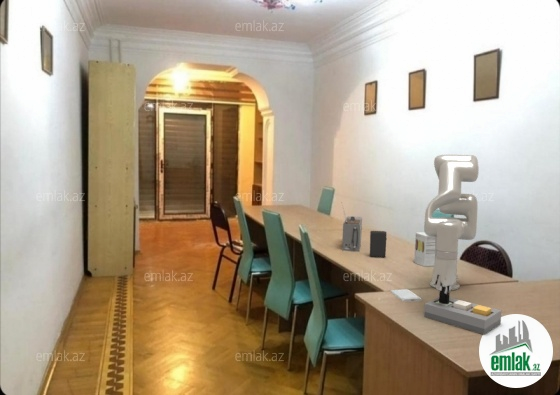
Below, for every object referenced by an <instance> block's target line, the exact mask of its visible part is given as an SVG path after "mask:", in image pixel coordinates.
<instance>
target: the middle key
mask: <svg viewBox="0 0 560 395" xmlns="http://www.w3.org/2000/svg"><path fill="white" fill-rule="evenodd" d="M461 300H462V299H458V301H456V302H454V304H453V308H457V309H461V310H464V311H468V310H470V309H471V306H472V303H473V302H470V303H469V301H466V302H465V300H462V301H461Z"/></svg>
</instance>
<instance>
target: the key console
mask: <svg viewBox="0 0 560 395" xmlns="http://www.w3.org/2000/svg"><path fill="white" fill-rule="evenodd" d="M458 300H459V299H458V298H454V297H450V296H449V302H451V303H453V304H454V302H456V301H458ZM460 300H461V301H463V300H462V299H460ZM438 301H439V297H437V298H434V299H432V300H430V301H428V302H426V303H424V310H423V311H424V312H423V316H424V318H427V317H428V318H427V319H430V318H431V319H430V320H433V319H434V321H436V322H440V323H443V322H444V324H447V325H451V326H453V325H454V327H458V328H460V329H463V328H464V330H467V329H468V330H467V331H470V330H471V332H473V331H474V333H477V334H481V335H484V336H485V335H486V334H488V333H489V332H491V331H492V330H494V329H495V328H497V327H498V326H500V325H501V323H502V322H501V321H502V310H501V309H497V308H494V307H489V306H488V307H489V308H491V315H489V316H483V315H479V314H475V313H473V307H475V306H477V305H479V304H477V303H473V302H469V301H468V302H469V303H472V306H471V309H470V310H468V311H464V310H461V309H457V308H453V304H451V305H449V306H446V305H442V304H438V303H436V302H438ZM464 301H465V300H464ZM465 302H467V301H465ZM481 306H483V305H481ZM484 306H485V305H484ZM485 307H487V306H485Z"/></svg>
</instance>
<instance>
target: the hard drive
mask: <svg viewBox="0 0 560 395" xmlns="http://www.w3.org/2000/svg"><path fill="white" fill-rule="evenodd" d="M390 293H391V294H392V295H394V296H395V297H396V298H398V300H400V301H401V302H422V301H423V298H421V297H420V296H419V295H417V294H415V293H414V292H413V291H411V290H409V289H406V288H403V289H391V290H390Z"/></svg>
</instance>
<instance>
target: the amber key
mask: <svg viewBox="0 0 560 395" xmlns="http://www.w3.org/2000/svg"><path fill="white" fill-rule="evenodd" d="M491 308H492V307H490V308H489V306H486V307H485V305H482V306H481V305H480V304H478V305H477V306H475V307H473V313H475V314H479V315H483V316H489V315H491Z"/></svg>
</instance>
